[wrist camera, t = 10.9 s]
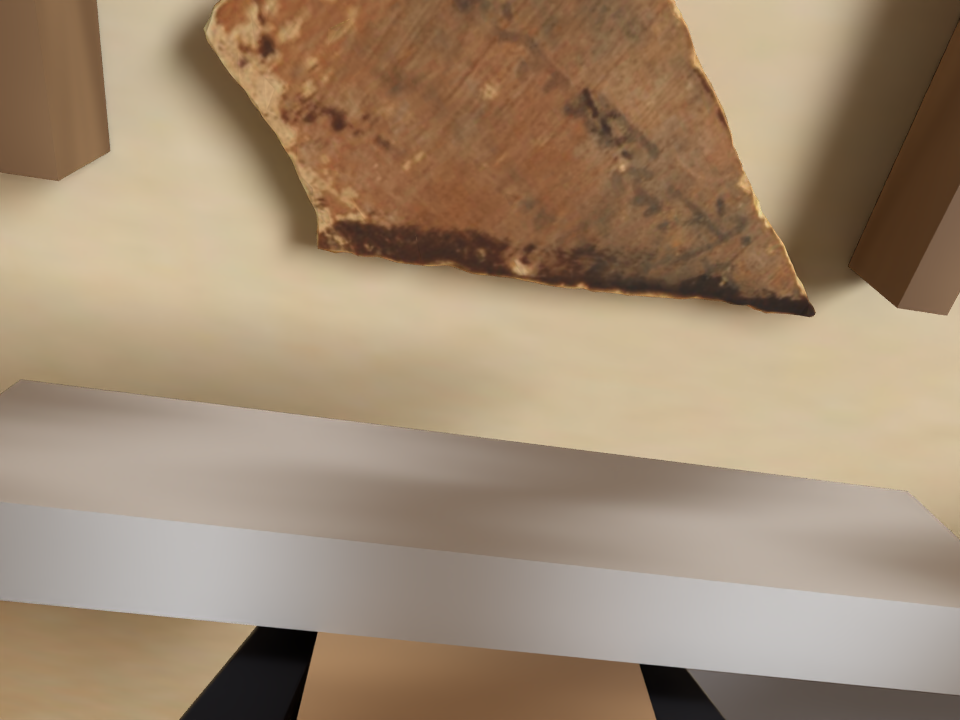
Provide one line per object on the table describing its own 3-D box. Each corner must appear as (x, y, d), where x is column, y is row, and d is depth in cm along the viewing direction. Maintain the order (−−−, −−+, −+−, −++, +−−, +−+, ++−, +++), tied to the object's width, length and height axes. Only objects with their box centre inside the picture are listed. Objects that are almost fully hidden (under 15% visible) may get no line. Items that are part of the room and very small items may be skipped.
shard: (789, 286, 16) (824, 323, 14) (497, 440, 18) (500, 487, 16) (542, -246, 11) (554, -277, 10) (184, 42, 13) (146, 55, 12)
